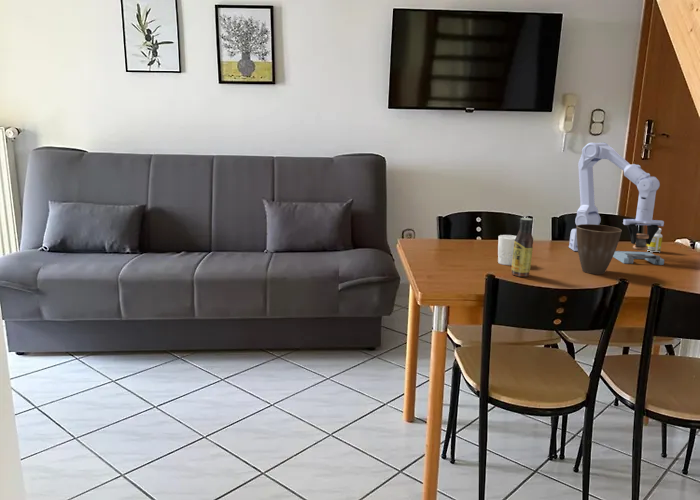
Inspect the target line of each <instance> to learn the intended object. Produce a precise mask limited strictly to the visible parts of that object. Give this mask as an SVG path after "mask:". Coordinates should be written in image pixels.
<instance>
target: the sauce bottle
mask: <svg viewBox="0 0 700 500" xmlns="http://www.w3.org/2000/svg"><path fill="white" fill-rule="evenodd" d="M519 224H520V225H519V230H518V232H517V235H515V236H516V239H515V241H514V249H513V259H512V265H511V274H512V276H515V277H522V278H523V277H529V276H530V273H531V265H532V257H533V249H534V246H533V244H534V236H533V235H532V225H533V218H530V217H520V219H519Z"/></svg>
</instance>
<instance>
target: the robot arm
mask: <svg viewBox="0 0 700 500" xmlns="http://www.w3.org/2000/svg"><path fill="white" fill-rule="evenodd" d="M601 160H608V161H610V162H611V163H612V164H614V165H615V166H616V167H617V168H619V169H621V170H622V171H623V176H624V177H625V178H627V179H628V180H629V181H630V182H631V183H632V184H634V185H635V186H636V187H637V190H638V198H637V199H638V200H637V207H636V215H635V218H623V220H622V221H623V222H622V224H623V225H624V226H626V227H627V229H628V231H629V235H630V243H631V244H633V245H636V235H637V234H638V231H639V227H638V226H646V227H647V228H646V234H647V235H649V238H648V239H646V245H647V244H648V245H650V243H651V241H652V239H653V237H654V235H655V234H656V232H657V231H658V230H659V228H660V227H664V226H665V225H664V224H665V221H664V220H658V219H655V220H654V219H653V215H654V209H655V204H656V203H655V202H656V196H657V195H656V194H657V191H658V190H659V188H660V186H661V184H660V180H659V179H658V178H657V177H656V176H651V174H650V173H649V172H646V171H645V170H644V169H642V167H641V165H639V164H635V163H632V164H630V162H628V161H627V160H626V159H625V158H624V157H623V156H622V155H620V154H619V153H618V152H617V151H616V150H615V149H614V148H613V147H612V146H611V145H609V144H608V143H606V142H588V143H587V144H585V146H583V148H582V149H581V155H580V158H579V160H578V162H577V163H578V164H577V165H578V167H577V168H578V184H579V185H578V186H579V199H580V201H579V203H580V206H579V207H578V209H577V211H576V216H575V221H574V222H575V225H576V226H577V225H581V224H594V225H601V224H600V223H601V220H602V219H601V216H600V214H599V210H598V207H597V206H596V205H595V187H594V166H595V165H597V163H598V162H599V161H601ZM568 244H569V245H568V248H569V249H571V250H572V251H573V252H578V247H577V234H576V228H572V229H571V231H570V236H569V243H568Z"/></svg>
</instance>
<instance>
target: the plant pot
mask: <svg viewBox="0 0 700 500" xmlns="http://www.w3.org/2000/svg"><path fill="white" fill-rule="evenodd" d="M575 229H576V234H577V247H578V251H577V254H578V257H579V258H578V259H579V263H580V267H581V270H582V272H585V273H587V274H591V275H603V274H605V273H606V271H607V269H608V267H609V266H610V263H611V261H612V259H613V258H614V257H613V255H614V253H615V251H617V248H618V244H619V242H620V239H621V234H622V232H623V231H622V229H621V228H619V227H615V226H609V225H603V224H599V225H594V224H581V225H576V227H575Z"/></svg>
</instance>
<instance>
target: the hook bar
mask: <svg viewBox="0 0 700 500" xmlns="http://www.w3.org/2000/svg"><path fill="white" fill-rule="evenodd" d="M627 258H629V261H628V264H629V265H630V264H631V265H632V263H633V264H634V260H633V258H654V259H656V260H655V262H657V261H659V262H660V258H661V256H660V255H659V254H657V255H656V254H654V256H653V255H632V254H628V255H627ZM632 260H633V262H632ZM659 262H657V263H656V264H655V265H656V266H660V265H659Z"/></svg>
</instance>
